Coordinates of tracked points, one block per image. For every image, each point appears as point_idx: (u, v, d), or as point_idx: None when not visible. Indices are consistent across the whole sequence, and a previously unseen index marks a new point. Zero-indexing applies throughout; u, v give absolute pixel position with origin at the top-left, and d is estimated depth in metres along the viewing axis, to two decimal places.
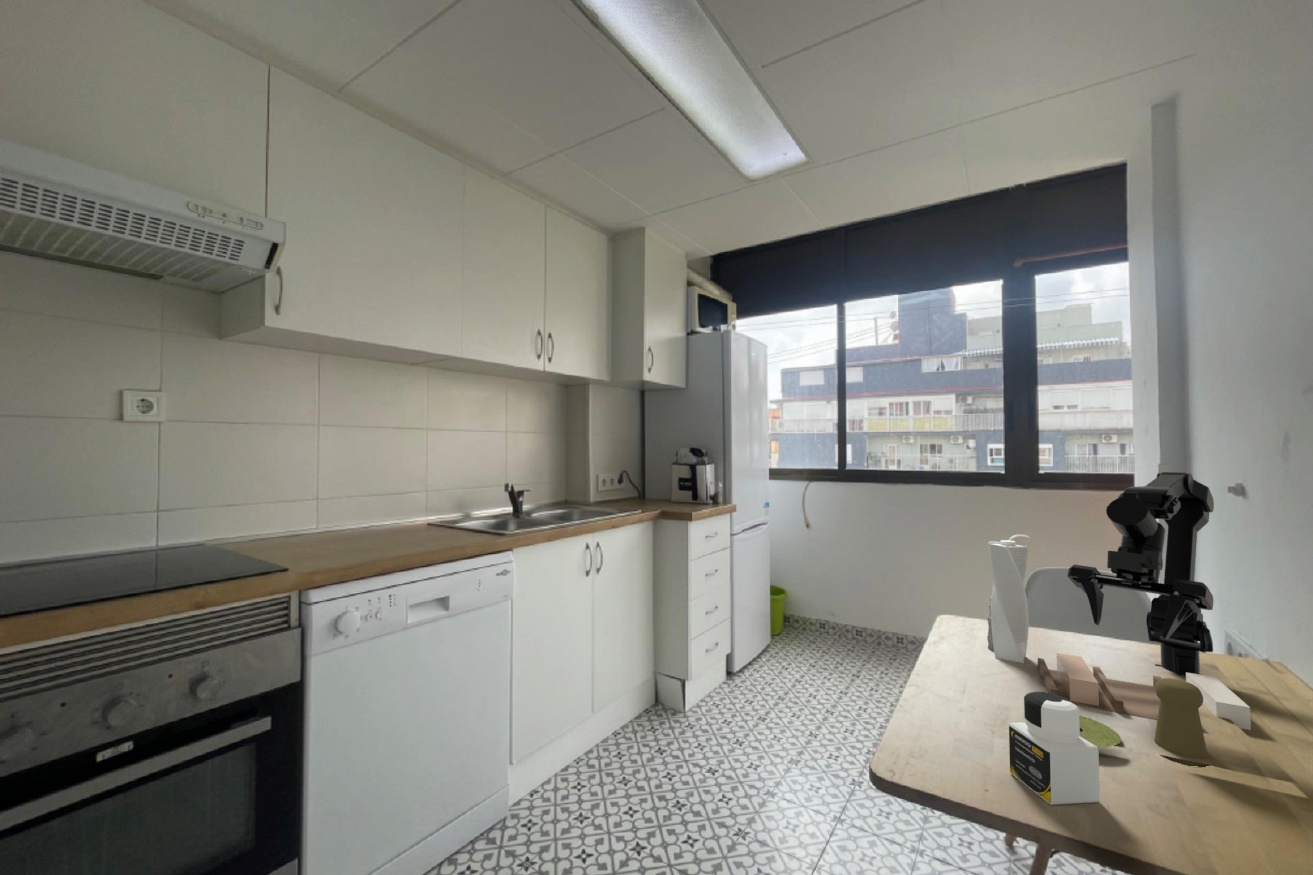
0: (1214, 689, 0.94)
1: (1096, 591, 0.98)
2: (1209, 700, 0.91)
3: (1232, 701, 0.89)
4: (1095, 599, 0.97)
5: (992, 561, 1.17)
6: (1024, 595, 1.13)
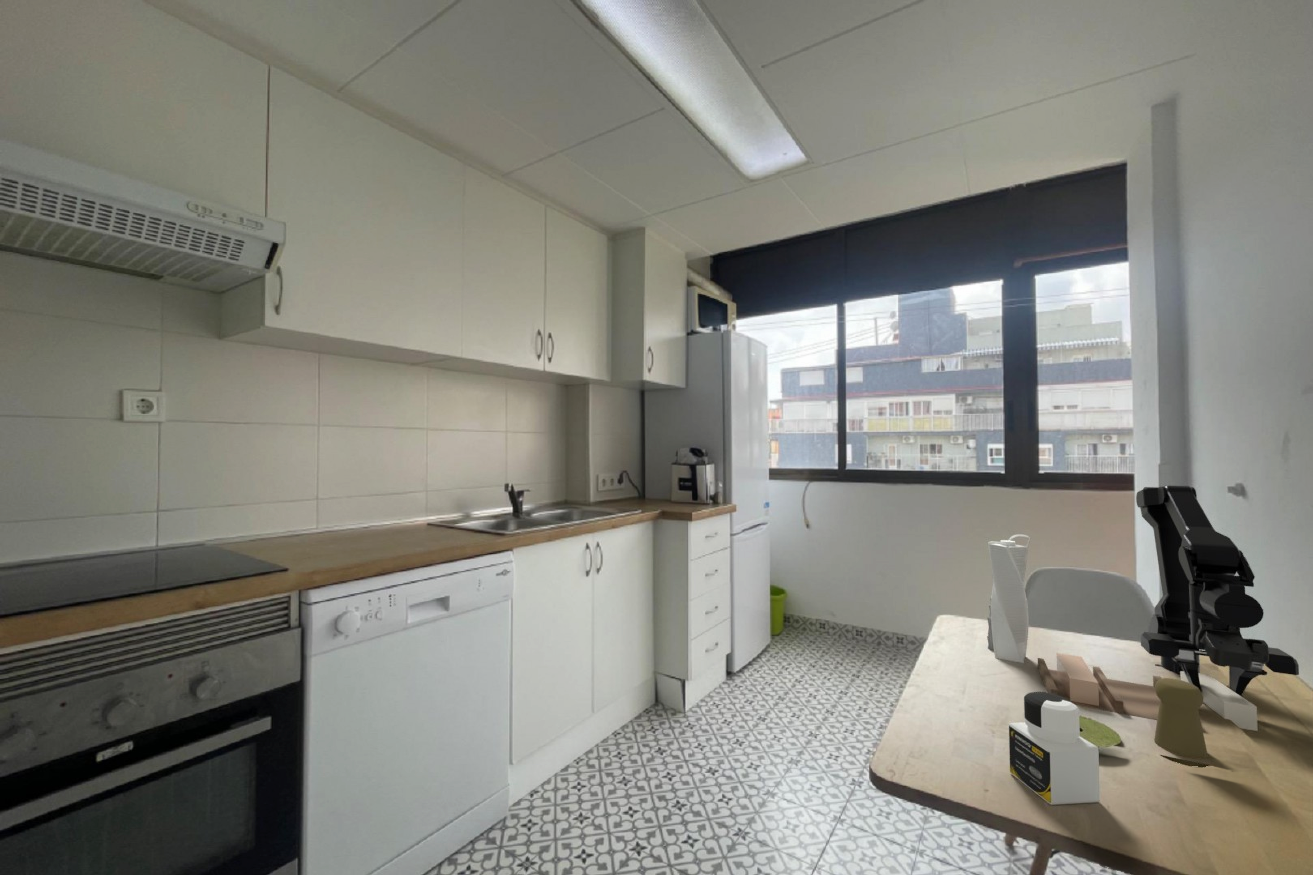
0: (1215, 688, 0.94)
1: None
2: (1214, 700, 0.91)
3: (1237, 701, 0.89)
4: (1197, 676, 0.94)
5: (992, 561, 1.17)
6: (1024, 595, 1.13)
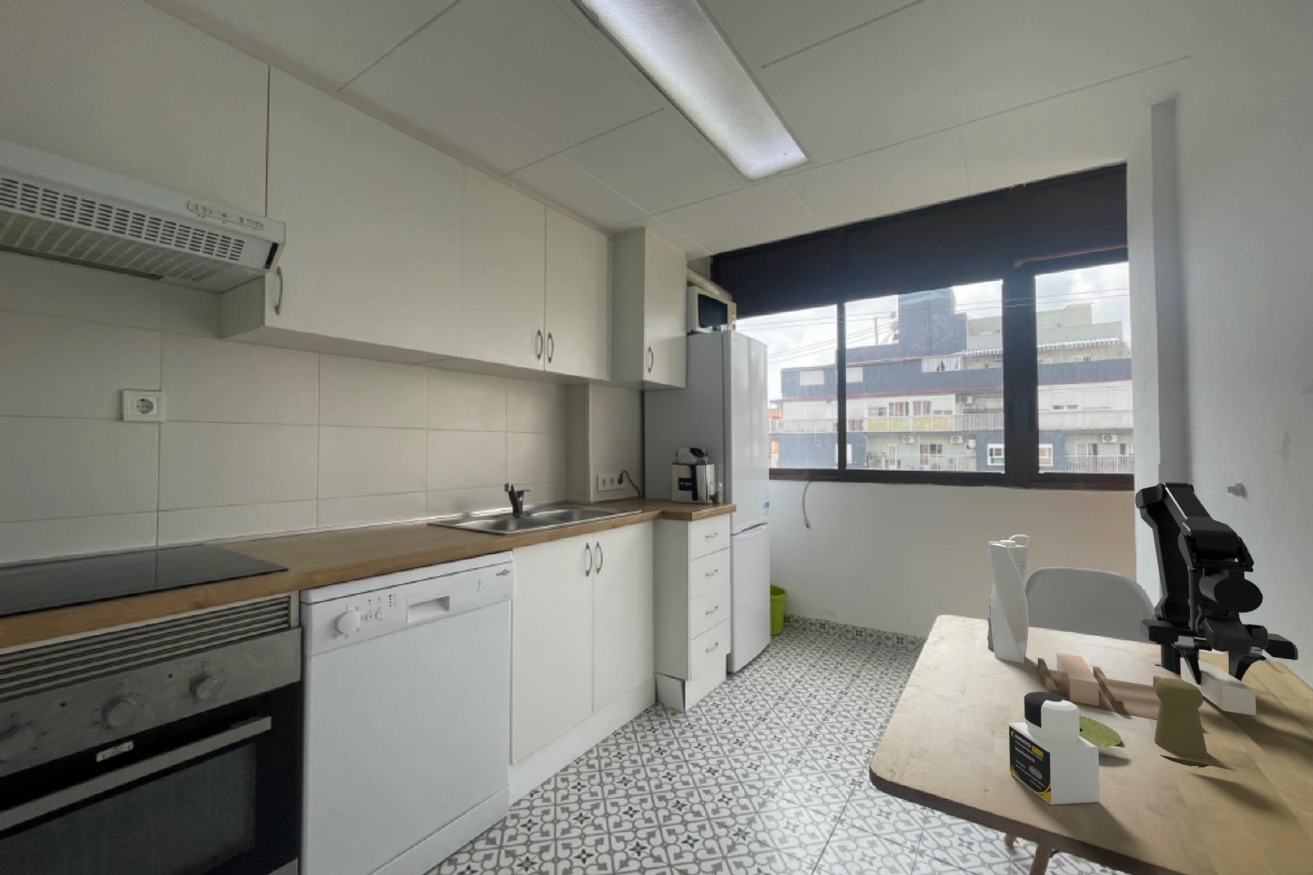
0: (1214, 673, 0.94)
1: None
2: (1213, 685, 0.91)
3: (1236, 685, 0.89)
4: (1197, 662, 0.94)
5: (992, 561, 1.17)
6: (1024, 595, 1.13)
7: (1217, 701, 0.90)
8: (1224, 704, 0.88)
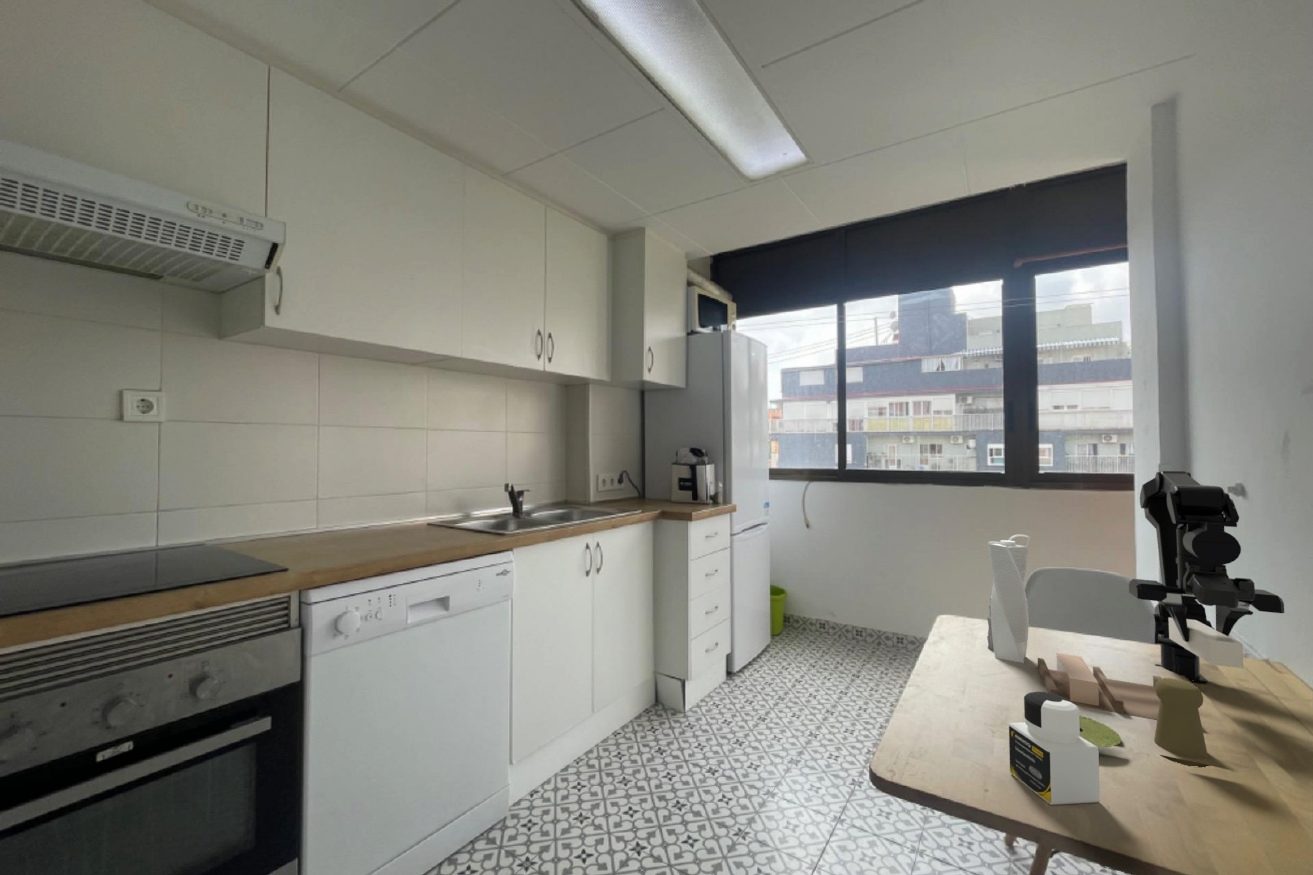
0: (1202, 630, 0.94)
1: None
2: (1201, 640, 0.91)
3: (1224, 639, 0.89)
4: (1185, 619, 0.95)
5: (992, 561, 1.17)
6: (1024, 595, 1.13)
7: (1205, 656, 0.90)
8: (1212, 658, 0.89)
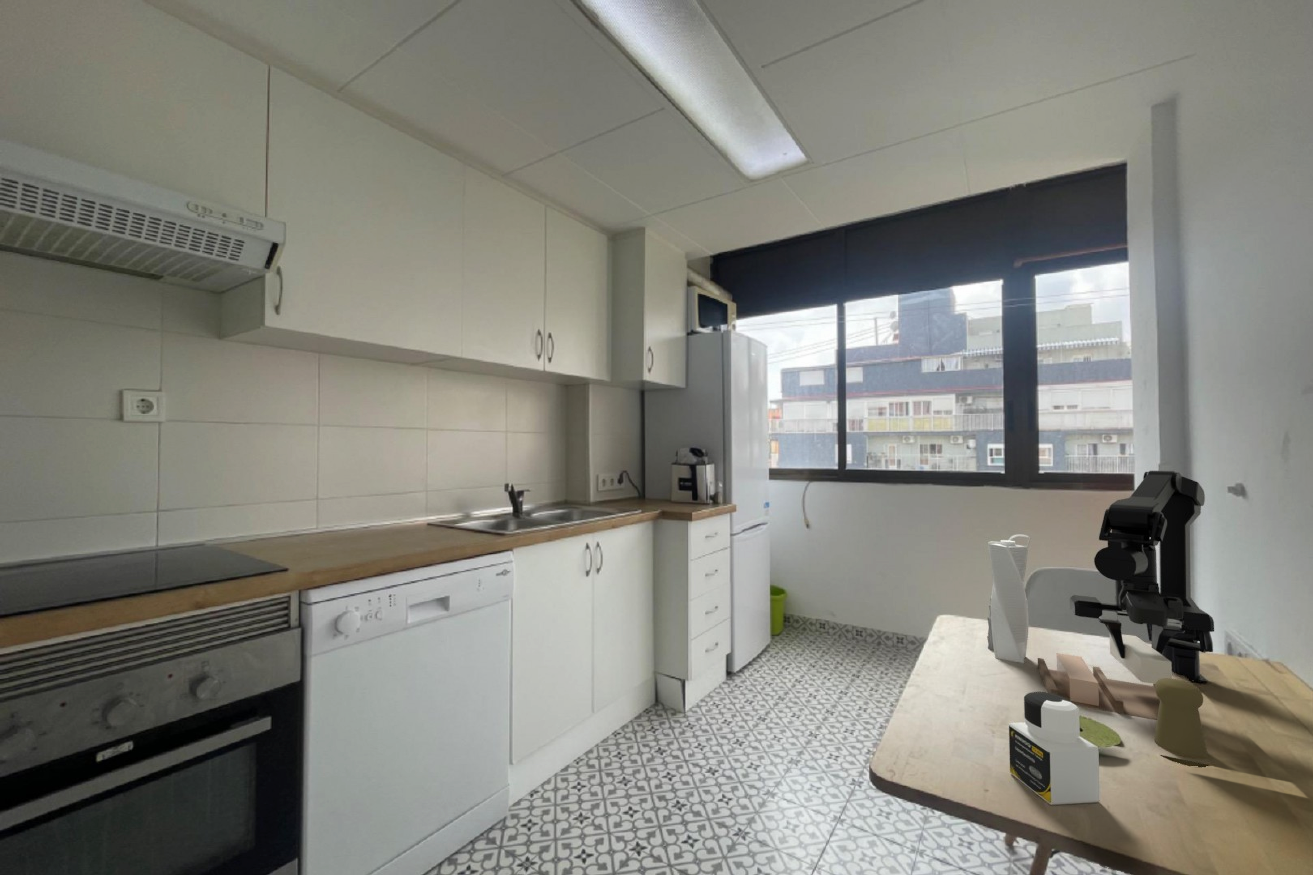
0: (1137, 647, 0.95)
1: None
2: (1133, 657, 0.93)
3: (1154, 657, 0.90)
4: (1120, 636, 0.96)
5: (992, 561, 1.17)
6: (1024, 595, 1.13)
7: (1137, 673, 0.91)
8: (1142, 675, 0.90)
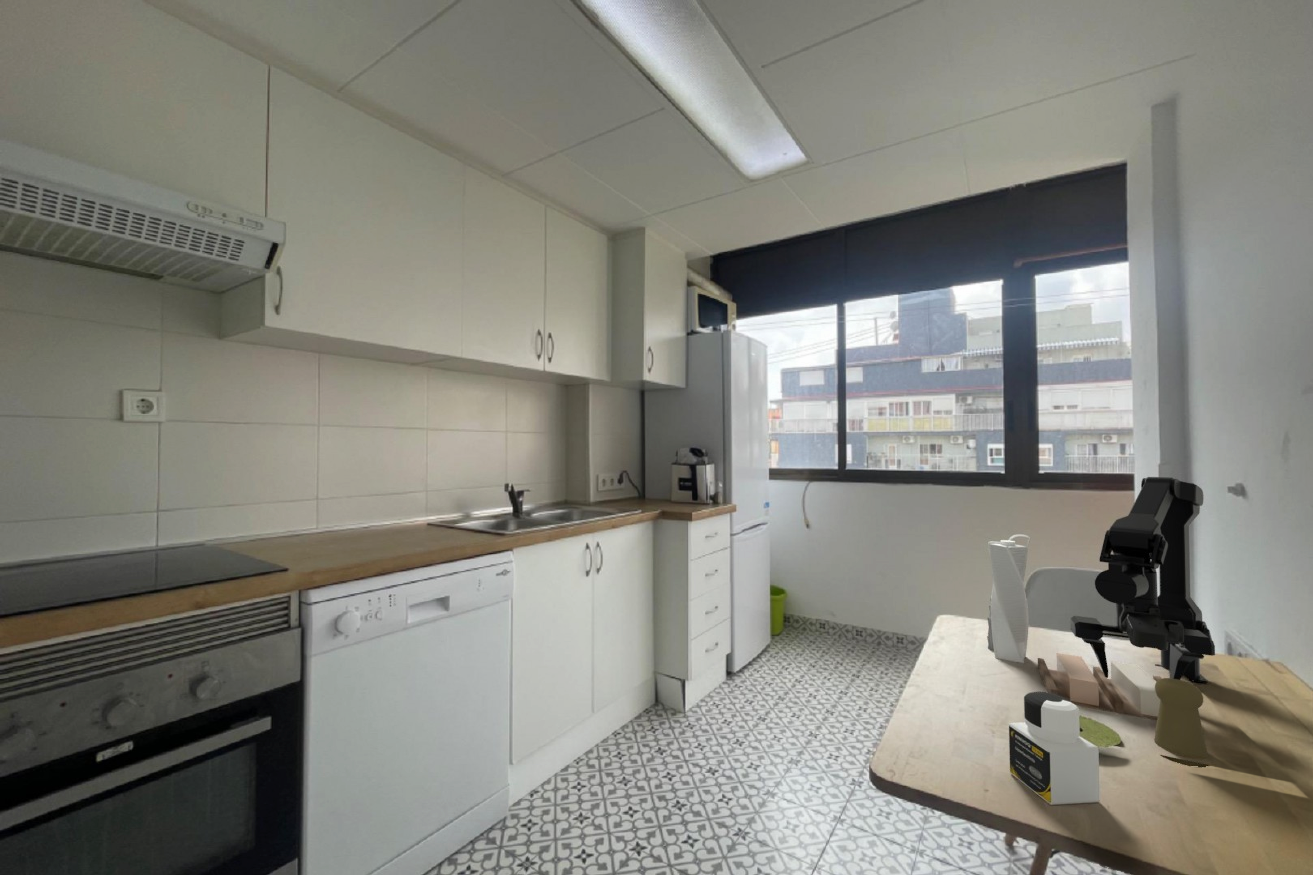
0: (1137, 677, 0.95)
1: None
2: (1133, 688, 0.92)
3: (1154, 689, 0.90)
4: (1104, 655, 0.97)
5: (992, 561, 1.17)
6: (1024, 595, 1.13)
7: (1136, 704, 0.91)
8: (1142, 707, 0.90)
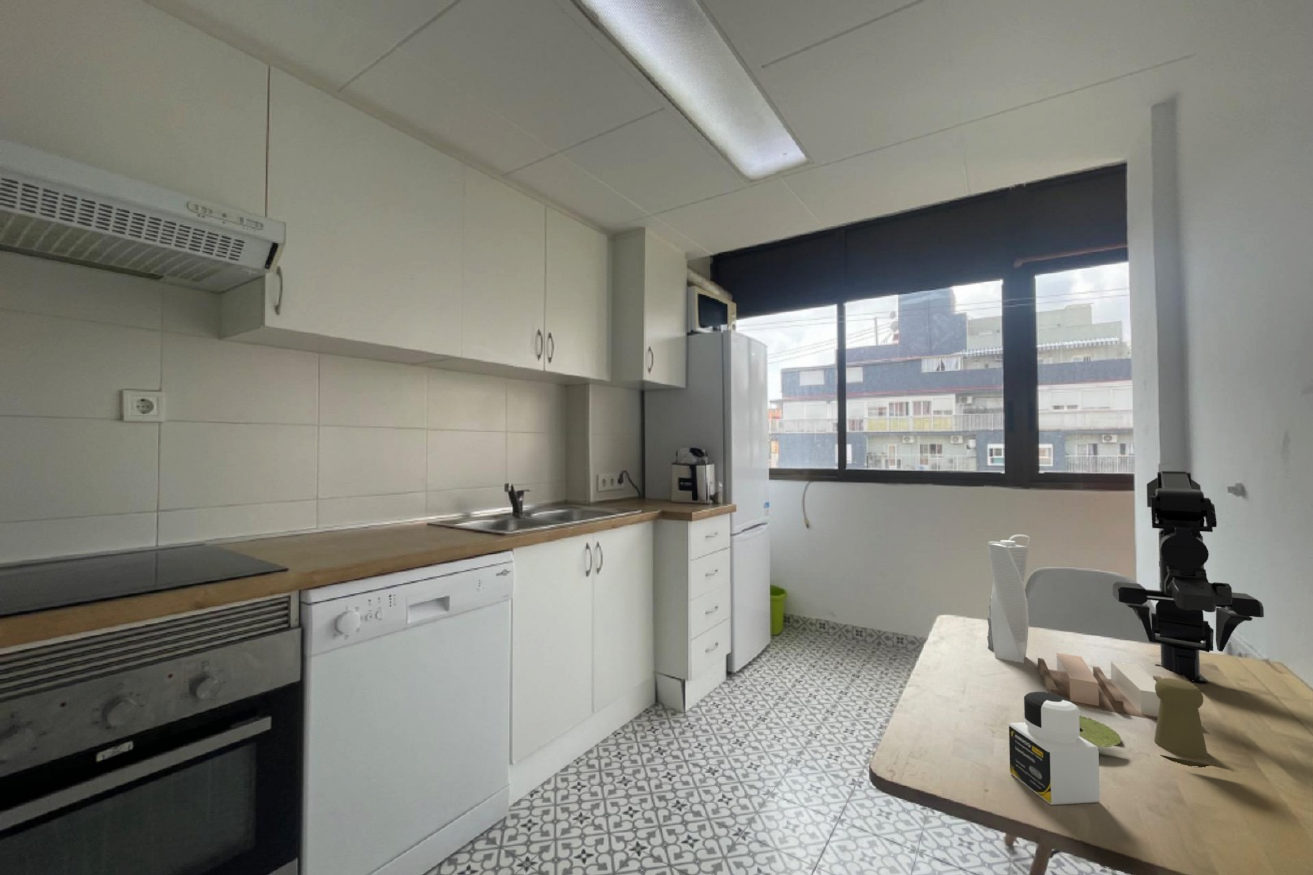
0: (1137, 677, 0.95)
1: None
2: (1133, 688, 0.92)
3: (1154, 689, 0.90)
4: (1149, 620, 0.97)
5: (992, 561, 1.17)
6: (1024, 595, 1.13)
7: (1136, 704, 0.91)
8: (1142, 707, 0.90)
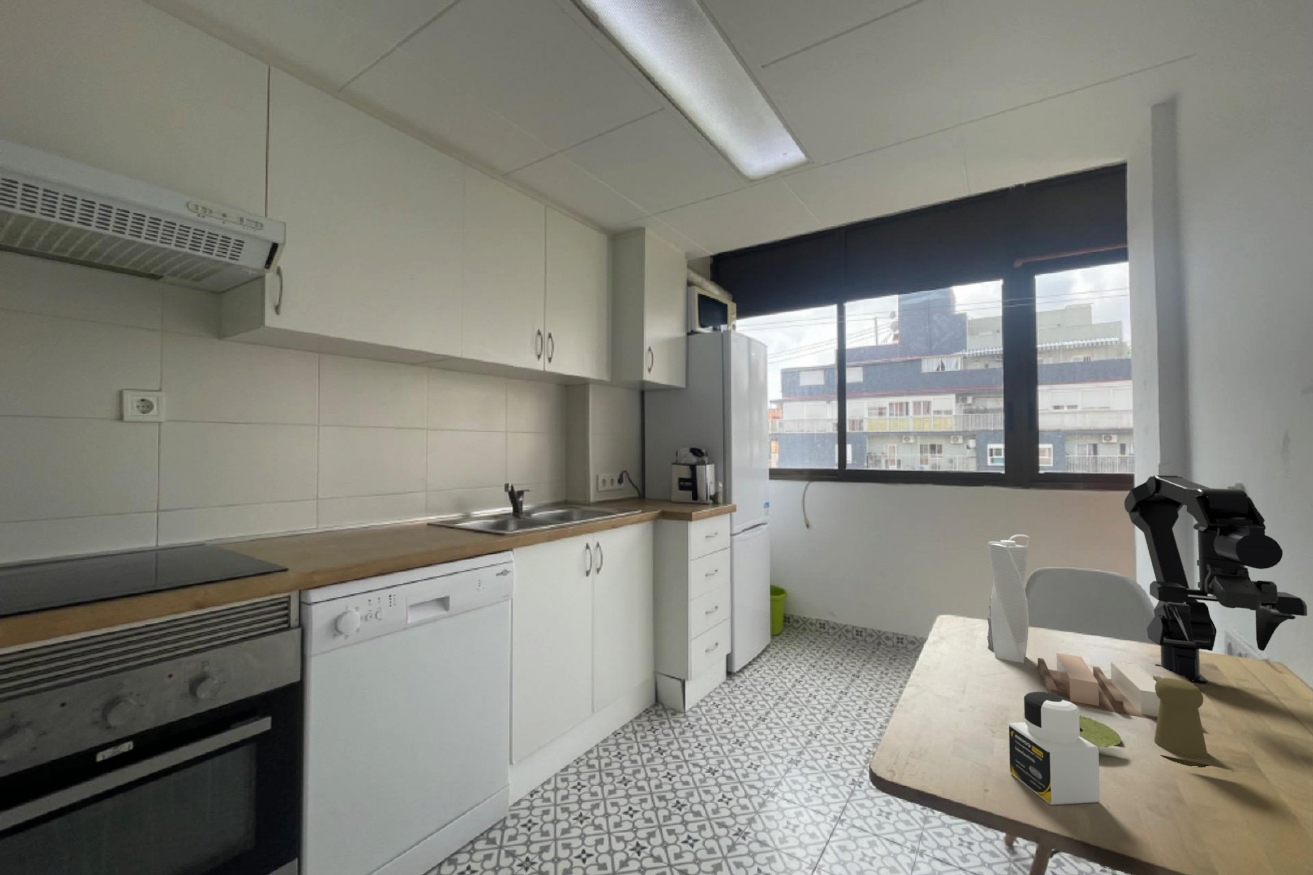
0: (1137, 677, 0.95)
1: None
2: (1133, 688, 0.92)
3: (1154, 689, 0.90)
4: (1189, 619, 0.97)
5: (992, 561, 1.17)
6: (1024, 595, 1.13)
7: (1136, 704, 0.91)
8: (1142, 707, 0.90)
